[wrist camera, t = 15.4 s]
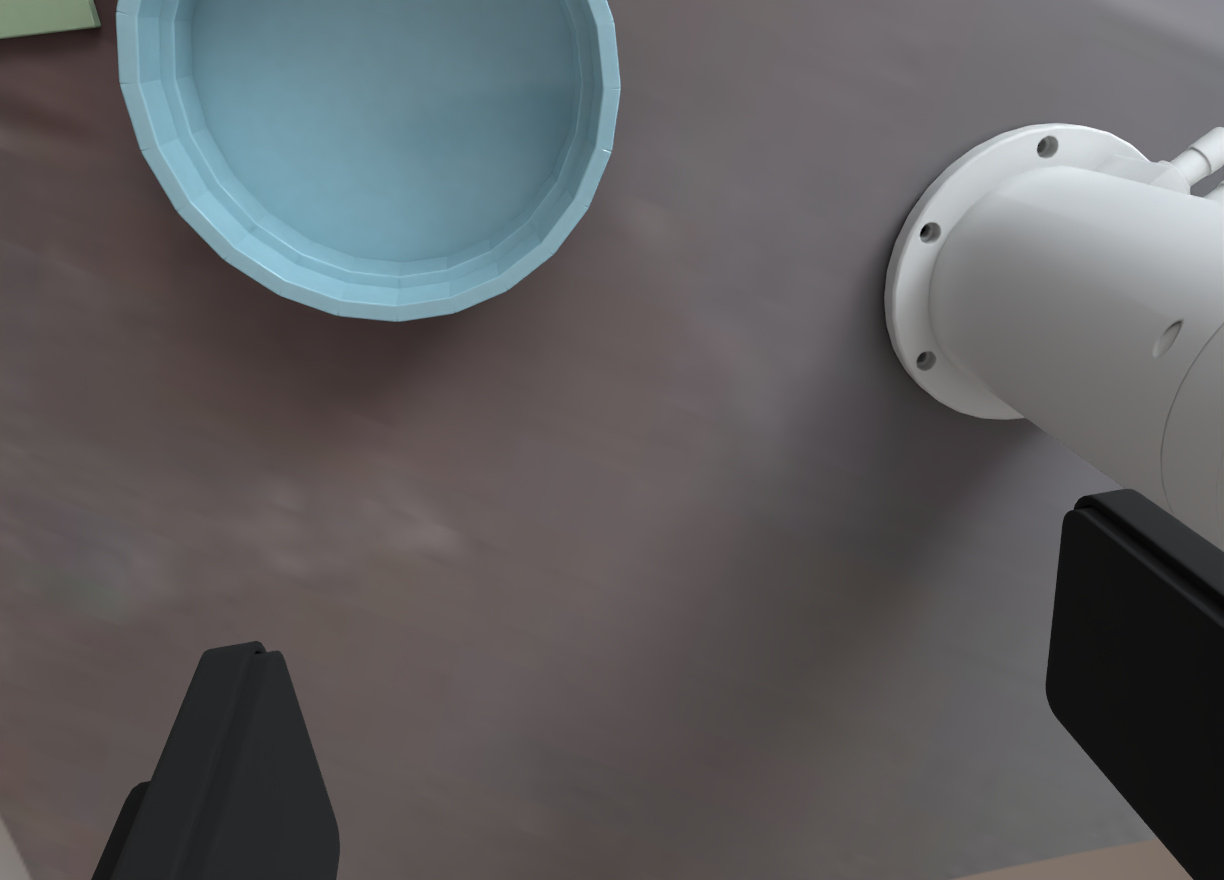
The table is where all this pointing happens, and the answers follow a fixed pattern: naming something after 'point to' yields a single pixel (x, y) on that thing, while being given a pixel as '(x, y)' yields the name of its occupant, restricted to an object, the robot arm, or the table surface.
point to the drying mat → (45, 16)
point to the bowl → (375, 139)
